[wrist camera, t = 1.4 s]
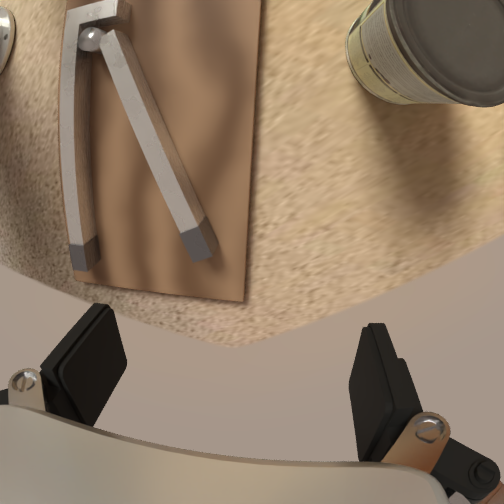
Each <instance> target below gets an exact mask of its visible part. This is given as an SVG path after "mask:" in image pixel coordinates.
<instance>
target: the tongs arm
mask: <svg viewBox="0 0 504 504" xmlns="http://www.w3.org/2000/svg"><path fill="white" fill-rule="evenodd" d="M78 45H79V47H80V49H82V50H84V51H89V52H93V53H98V54H103V56H104V58H105V61H106V64H107V66H108V69H109V71H110V74H111V76H112V79H113V81H114V84H115V86H116V89H117V91H118V94H119V96H120V99H121V101H122V104H123V106H124V109H125V111H126V113H127V116H128V118H129V120H130V123H131V125H132V128H133V130H134V132H135V135H136V137H137V139H138V141H139V144H140V146H141V148H142V151H143V153H144V155H145V157H146V160H147V162H148V164H149V166H150V169H151V171H152V173H153V175H154V178H155V180H156V182H157V184H158V186H159V188H160V191H161V193H162V195H163V197H164V199H165V201H166V204H167V206H168V208H169V210H170V212H171V214H172V216H173V218H174V220H175V223H176V225H177V227H178V229H179V231H180V233H179V235H180V237H181V239H182V242H183V244H184V246H185V248H186V250H187V252H188V254H189V256H190V258H191V260H192V262H193V263H195V262H197V261H200V260H203V259H206V258H209V257H212V256H213V254H214V252H215V250H216V248H217V246H218V243H219V242H218V240H217V238H216V235H215V233H214V231H213V229H212V227H211V225H210V222H209V220H208V218H207V216H205V214H204V211H203V209H202V207H201V205H200V203H199V200H198V198H197V196H196V194H195V192H194V189H193V187H192V185H191V183H190V180H189V178H188V176H187V174H186V171H185V169H184V167H183V165H182V162H181V160H180V158H179V155H178V153H177V151H176V149H175V146H174V144H173V142H172V139H171V137H170V135H169V133H168V130H167V128H166V126H165V123H164V121H163V119H162V116H161V114H160V112H159V109H158V107H157V105H156V102H155V100H154V97H153V95H152V93H151V90H150V88H149V86H148V83H147V81H146V78H145V76H144V74H143V71H142V69H141V66H140V64H139V61H138V59H137V57H136V54H135V52H134V49H133V47H132V44H131V42H130V39H129V37H128V35H126V34H124V33H122V32H119V31H117V30H114V29H113V30H112V31H110V32H106V31H104V30H101V29H98V28H95V27H89V28H87V29H85V30H84V31H83V32H82V33H81V35H80V37H79V40H78Z"/></svg>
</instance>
